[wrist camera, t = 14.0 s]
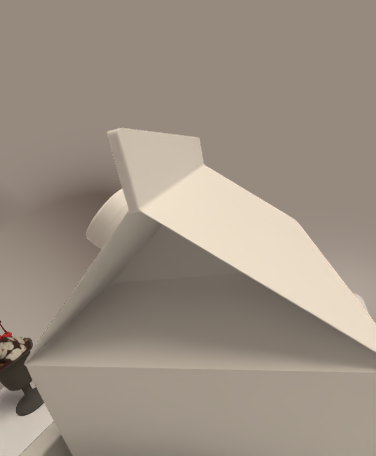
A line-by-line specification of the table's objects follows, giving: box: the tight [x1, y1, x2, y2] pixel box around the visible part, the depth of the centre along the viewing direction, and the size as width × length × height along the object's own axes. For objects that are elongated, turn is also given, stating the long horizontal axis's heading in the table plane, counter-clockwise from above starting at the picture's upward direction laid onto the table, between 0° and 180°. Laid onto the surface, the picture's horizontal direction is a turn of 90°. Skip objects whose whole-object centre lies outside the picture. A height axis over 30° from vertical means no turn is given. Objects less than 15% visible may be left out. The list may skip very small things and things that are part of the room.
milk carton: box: [24, 128, 376, 456], centre depth 9 cm, size 7×7×19 cm
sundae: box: [0, 321, 44, 415], centre depth 38 cm, size 7×7×15 cm
